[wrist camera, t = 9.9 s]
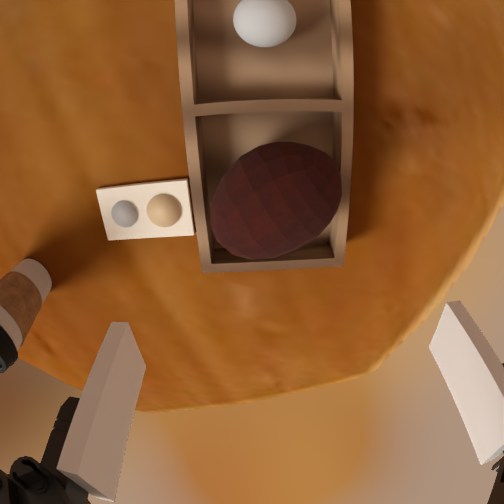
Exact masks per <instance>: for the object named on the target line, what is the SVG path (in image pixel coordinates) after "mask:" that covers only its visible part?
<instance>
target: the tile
mask: <svg viewBox="0 0 504 504" xmlns="http://www.w3.org/2000/svg"><path fill="white" fill-rule="evenodd" d="M96 193H97V197H98V201H99V206H100V210H101V214H102V218H103V222H104V226H105V230H106V234H107V238H108V240H123V239H138V238H154V237H171V236H188V235H194V234H195V230H194V223H193V216H192V208H191V201H190V193H189V185H188V178H187V179H176V180H165V181H155V182H146V183H137V184H128V185H120V186H112V187H104V188H98V189H97V190H96Z"/></svg>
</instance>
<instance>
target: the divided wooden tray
mask: <svg viewBox="0 0 504 504" xmlns="http://www.w3.org/2000/svg"><path fill="white" fill-rule="evenodd" d="M241 1H242V0H175V16H176V35H177V51H178V65H179V79H180V91H181V102H182V113H183V124H184V134H185V143H186V153H187V162H188V170H189V179H190V187H191V195H192V203H193V210H194V218H195V225H196V233H197V240H198V246H199V253H200V260H201V267H202V273H217V272H240V271H262V270H283V269H302V268H321V267H339V266H343V264H344V256H345V246H346V236H347V226H348V215H349V202H350V188H351V172H352V152H353V120H354V65H353V35H352V17H351V2H350V0H287V1H288V2H289V3H290V4H291V5H292V7H293V8H294V11H295V14H296V27H295V30H294V32H293V34H292V35H291V36H290V37H289V38H288V39H287V40H286V41H285V42H283V43H281V44H279V45H277V46H273V47H257V46H254V45H251V44H249V43H247V42H246V41H244V40H243V39H242V38H241V37H240V36H239V35H238V33H237V32H236V30H235V27H234V23H233V16H234V11H235V9H236V7H237V5H238V4H239V3H240V2H241ZM273 142H296V143H301V144H305V145H310V146H312V147H315V148H317V149H319V150H321V151H323V152H325V153H326V154H328V155H329V156H330V157H331V158H332V159H333V160H334V161H335V162H336V163H337V166H338V169H339V172H340V175H341V181H342V197H341V200H340V204H339V207H338V210H337V212H336V214H335V215H334V217H333V219H332V221H331V222H330V224H329V225H328V226H327V227H326V228H325V229H324V230H323V231H322V232H321V234H320V235H319V236H318V237H316V238H315V239H313V240H312V241H310V242H308V243H307V244H305V245H304V246H302V247H301V248H299V249H296V250H294V251H291V252H289V253H286V254H283V255H281V256H278V257H276V258H265V259H253V260H250V259H246V258H243V257H239V256H236V255H233V254H231V253H230V252H229V251H228V250H227V249H225V248H224V247H223V246H222V245H221V244H220V243H218V242H217V241H216V238H215V236H214V233H213V231H212V228H211V223H210V218H211V201H212V199H213V196H214V194H215V192H216V189H217V187H218V185H219V183H220V180H221V178H222V176H223V175H224V174H225V173H226V172H227V171H228V169H229V168H230V167H231V166H232V165H233V164H234V163H235V162H236V161H237V159H238V158H239V157H240V156H242V155H244V154H245V153H247V152H249V151H251V150H252V149H254V148H256V147H258V146H260V145H264V144H269V143H273Z"/></svg>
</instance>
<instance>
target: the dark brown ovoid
mask: <svg viewBox="0 0 504 504" xmlns="http://www.w3.org/2000/svg"><path fill="white" fill-rule="evenodd" d="M341 197H342V181H341V175H340V172H339V169H338V166H337V163H336V162H335V161H334V160H333V159H332V158H331V157H330V156H329V155H328V154H326V153H325V152H323V151H321V150H319V149H317V148H315V147H312V146H310V145H305V144H301V143H296V142H273V143H269V144H264V145H260V146H258V147H256V148H254V149H252V150H251V151H249V152H247V153H245V154H244V155H242V156H240V157H239V158H238V159H237V161H236V162H235V163H234V164H233V165H232V166H231V167H230V168H229V169H228V171H227V172H226V173H225V174H224V175H223V176H222V178H221V180H220V183H219V185H218V187H217V189H216V192H215V194H214V196H213V199H212V201H211V218H210V223H211V228H212V231H213V233H214V236H215V238H216V241H217V242H218V243H220V244H221V245H222V246H223V247H224V248H225V249H227V250H228V251H229V252H230V253H231V254H233V255H236V256H239V257H243V258H246V259H250V260H253V259H265V258H276V257H278V256H281V255H283V254H286V253H289V252H291V251H294V250H296V249H299V248H301V247H302V246H304V245H305V244H307V243H308V242H310V241H312V240H313V239H315V238H316V237H318V236H319V235H320V234H321V232H322V231H323V230H324V229H325V228H326V227H327V226H328V225H329V224H330V222H331V221H332V219H333V217H334V215H335V214H336V212H337V210H338V207H339V204H340V200H341Z"/></svg>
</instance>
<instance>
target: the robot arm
mask: <svg viewBox="0 0 504 504" xmlns="http://www.w3.org/2000/svg"><path fill="white" fill-rule="evenodd" d="M429 349H430V351H431V353H432V355H433V357H434V359H435V361H436V363H437V365H438V367H439V369H440V371H441V373H442V375H443V377H444V379H445V381H446V383H447V385H448V388H449V390H450V392H451V394H452V396H453V399H454V401H455V403H456V405H457V408H458V410H459V412H460V415H461V416H462V419H463V422H464V424H465V426H466V429H467V431H468V434H469V436H470V439H471V441H472V443H473V446H474V449H475V451H476V454H477V457H478V459H479V462H480V465H482V464H484V463H486V462H489V461H491V460H493V459H495V458H496V457H497V456H498V455H499V454H500V453H501V452H503V453H504V363H503V364H502V363H501V362H500V360H499V358H498V357H497V355H496V354H495V352H494V350H493V349H492V347H491V346H490V344H489V343H488V341H487V340H486V338H485V336H484V335H483V333H482V332H481V330H480V329H479V327H478V326H477V324H476V323H475V321H474V320H473V319H472V317H471V316H470V314H469V313H468V312H467V310H466V308H465V307H464V306H463V304H462V303H461V302H460V301H454V302H447V303H446V305H445V308H444V311H443V313H442V316H441V319H440V321H439V324H438V326H437V329H436V331H435V334H434V336H433V339H432V341H431V343H430V346H429ZM145 369H146V365H145V363H144V361H143V358H142V356H141V353H140V351H139V348H138V346H137V343H136V341H135V338H134V336H133V333H132V331H131V328H130V325H129V323H128V322H111V324H110V327H109V329H108V331H107V333H106V336H105V338H104V340H103V343H102V345H101V347H100V350H99V352H98V354H97V357H96V359H95V362H94V364H93V367H92V369H91V372H90V374H89V377H88V379H87V382H86V384H85V387H84V389H83V392H82V395H81V398H74V397H69V398H68V399H67V400H66V401H65V403H64V404H63V405H62V406H61V408H60V410H59V413H58V416H57V421H55V423H54V426H53V430H52V432H51V434H50V437H49V440H48V443H47V446H46V449H45V452H44V455H43V458H42V461H41V463H38V462H37V461H36V460H34V459H33V458H31V457H27V456H24V457H20V458H18V459H17V460H16V461H14V463H13V465H12V466H11V469H10V474H6V473H5V472H3V471H2V470H0V504H91V503H90V502H89V501H88V499H87V498H88V493H90V494H91V495H93V496H94V497H96V498H99V499H103V500H107V501H112V502H115V498H116V492H117V487H118V482H119V477H120V473H121V468H122V463H123V458H124V454H125V449H126V445H127V440H128V436H129V431H130V428H131V424H132V419H133V415H134V411H135V407H136V403H137V399H138V395H139V392H140V388H141V384H142V380H143V376H144V373H145ZM499 465H500V466H499ZM498 466H499V468H498V469H497V470H496V471H497V472H498V473H497V476H496V480H495V483H494V486H493V489H492V492H491V495H490V498H489V501H488V503H487V504H504V456H503V457H502V458H501V459H500V460H499V461H498V462H496V463H495V464H494V465H493V467H492V470H494V469H495V468H497V467H498Z"/></svg>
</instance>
